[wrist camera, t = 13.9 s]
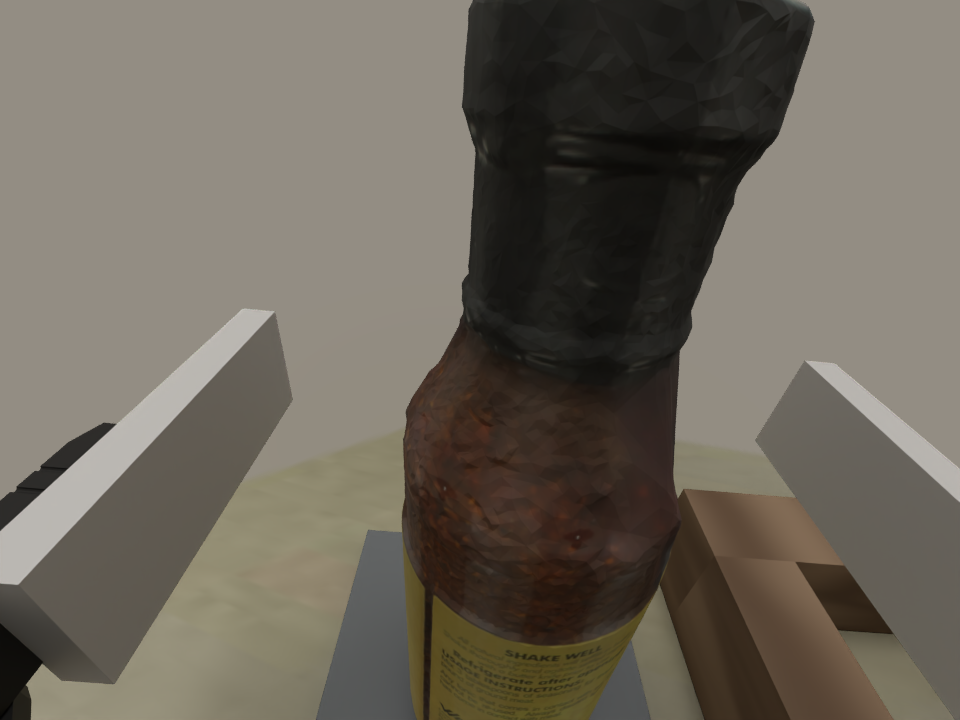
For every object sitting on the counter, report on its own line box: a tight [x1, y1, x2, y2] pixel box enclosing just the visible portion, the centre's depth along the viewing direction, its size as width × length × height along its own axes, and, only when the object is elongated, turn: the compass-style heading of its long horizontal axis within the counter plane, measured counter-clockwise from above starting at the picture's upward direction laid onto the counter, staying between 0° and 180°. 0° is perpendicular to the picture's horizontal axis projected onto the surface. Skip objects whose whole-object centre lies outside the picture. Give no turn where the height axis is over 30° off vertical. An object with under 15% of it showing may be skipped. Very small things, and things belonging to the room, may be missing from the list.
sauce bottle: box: [402, 0, 815, 720], centre depth 10 cm, size 6×6×20 cm
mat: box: [316, 530, 651, 720], centre depth 16 cm, size 12×12×1 cm
